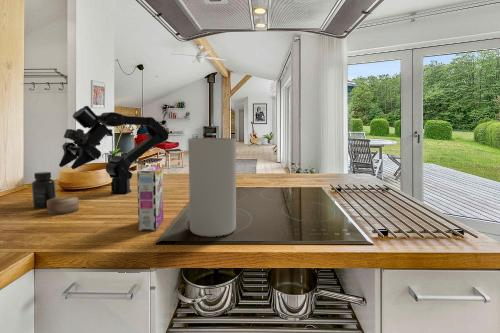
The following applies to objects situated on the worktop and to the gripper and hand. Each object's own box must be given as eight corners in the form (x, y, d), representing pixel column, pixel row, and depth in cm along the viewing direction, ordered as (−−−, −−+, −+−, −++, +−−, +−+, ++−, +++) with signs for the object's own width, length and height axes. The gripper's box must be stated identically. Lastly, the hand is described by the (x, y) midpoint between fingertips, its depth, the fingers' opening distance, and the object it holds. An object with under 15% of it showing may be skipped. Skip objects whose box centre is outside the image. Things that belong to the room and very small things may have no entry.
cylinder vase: (236, 237, 81) (236, 139, 78) (187, 238, 80) (185, 139, 77) (235, 222, 93) (235, 138, 90) (192, 223, 92) (191, 137, 89)
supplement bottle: (61, 205, 113) (58, 171, 111) (43, 209, 106) (40, 174, 105) (47, 203, 115) (44, 170, 113) (28, 207, 108) (25, 173, 107)
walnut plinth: (83, 208, 109) (83, 196, 108) (69, 215, 100) (68, 202, 100) (57, 207, 109) (57, 195, 108) (41, 215, 100) (40, 202, 99)
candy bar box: (157, 231, 85) (155, 171, 83) (138, 231, 85) (135, 171, 83) (164, 219, 96) (163, 166, 94) (148, 219, 96) (146, 166, 94)
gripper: (66, 121, 123) (36, 151, 115) (91, 121, 112) (60, 154, 104) (87, 141, 130) (60, 170, 122) (112, 142, 119) (85, 174, 112)
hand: (65, 167), depth 115 cm, fingers open, 9 cm apart
